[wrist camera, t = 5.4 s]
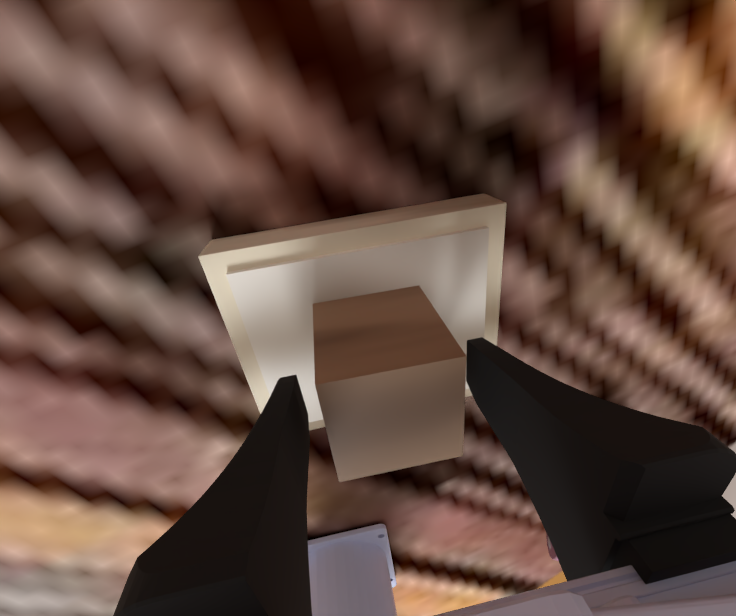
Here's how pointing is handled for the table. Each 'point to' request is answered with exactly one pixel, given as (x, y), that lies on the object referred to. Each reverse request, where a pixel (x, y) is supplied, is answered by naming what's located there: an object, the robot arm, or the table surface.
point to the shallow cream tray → (354, 280)
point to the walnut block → (388, 382)
